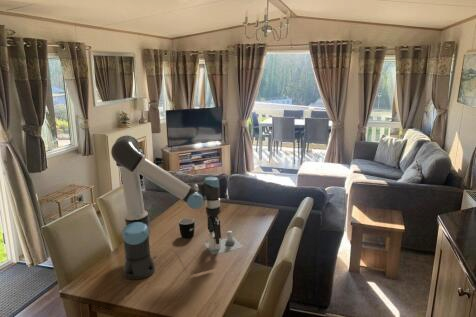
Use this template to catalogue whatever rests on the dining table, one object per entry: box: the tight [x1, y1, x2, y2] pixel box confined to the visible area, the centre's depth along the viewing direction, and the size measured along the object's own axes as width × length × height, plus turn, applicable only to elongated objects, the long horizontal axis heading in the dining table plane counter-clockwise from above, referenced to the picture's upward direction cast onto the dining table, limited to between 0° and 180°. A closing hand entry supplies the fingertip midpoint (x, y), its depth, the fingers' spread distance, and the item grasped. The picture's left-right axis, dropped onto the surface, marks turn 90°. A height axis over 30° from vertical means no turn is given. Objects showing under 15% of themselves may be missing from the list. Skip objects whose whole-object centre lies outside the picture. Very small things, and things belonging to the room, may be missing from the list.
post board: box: [203, 230, 244, 255], centre depth 197 cm, size 18×14×8 cm
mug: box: [178, 217, 196, 239], centre depth 211 cm, size 12×9×10 cm
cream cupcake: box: [208, 233, 221, 250], centre depth 195 cm, size 6×6×7 cm
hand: (214, 245), depth 196 cm, fingers open, 6 cm apart
